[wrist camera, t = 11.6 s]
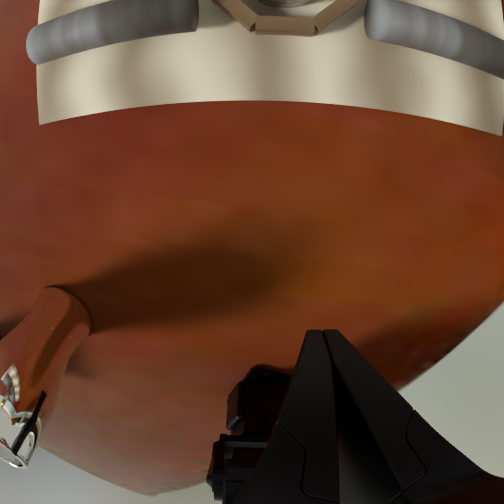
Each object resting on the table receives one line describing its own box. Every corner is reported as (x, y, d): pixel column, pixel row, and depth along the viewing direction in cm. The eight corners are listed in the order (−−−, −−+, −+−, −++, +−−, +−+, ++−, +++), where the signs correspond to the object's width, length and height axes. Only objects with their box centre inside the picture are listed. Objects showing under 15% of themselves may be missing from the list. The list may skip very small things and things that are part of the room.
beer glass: (84, 351, 28) (27, 477, 14) (30, 313, 26) (-45, 425, 12) (105, 312, 25) (31, 462, 12) (42, 267, 23) (-59, 394, 10)
